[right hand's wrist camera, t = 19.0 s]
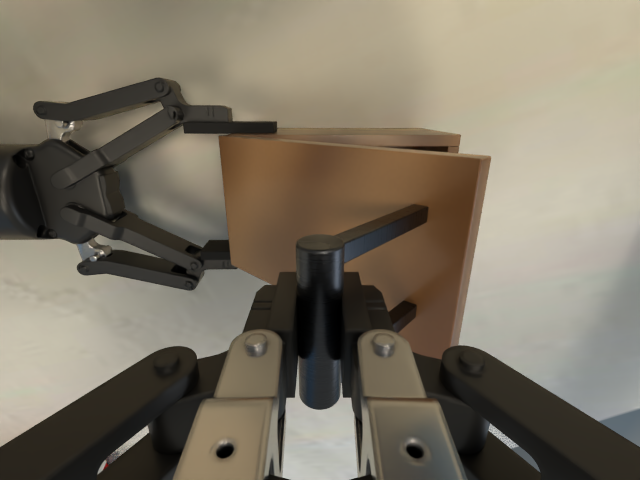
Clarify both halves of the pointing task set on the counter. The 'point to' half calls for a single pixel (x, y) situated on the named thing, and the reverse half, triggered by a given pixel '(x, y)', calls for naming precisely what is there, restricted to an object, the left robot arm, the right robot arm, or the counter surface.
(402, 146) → the chest
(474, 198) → the lid
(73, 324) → the counter surface
